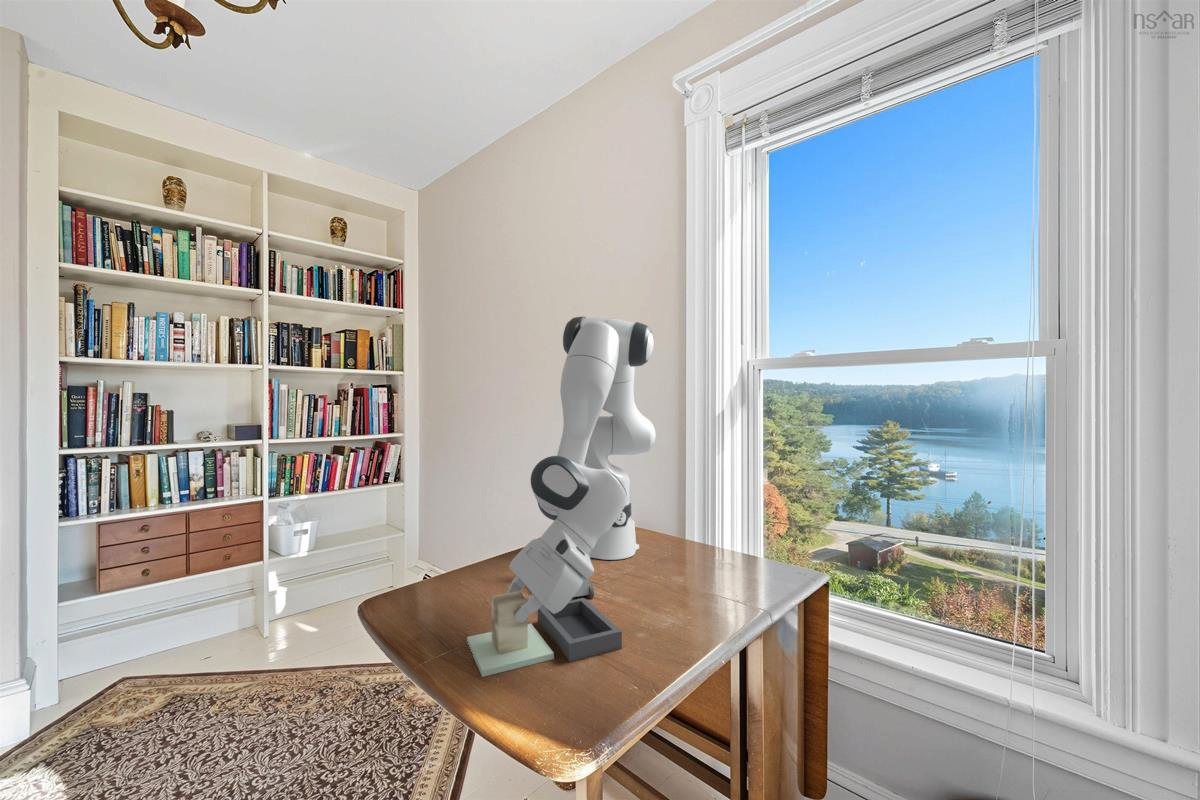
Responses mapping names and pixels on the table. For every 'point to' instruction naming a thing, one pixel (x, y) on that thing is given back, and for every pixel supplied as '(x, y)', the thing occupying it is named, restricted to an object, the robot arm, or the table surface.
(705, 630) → the table surface
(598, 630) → the tray
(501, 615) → the birch block
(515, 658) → the pad
